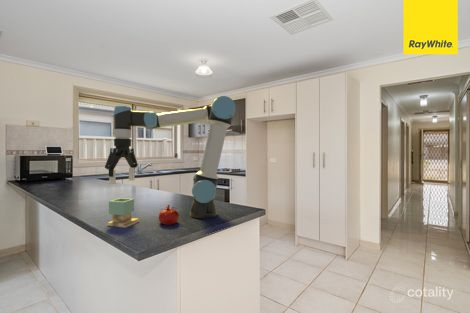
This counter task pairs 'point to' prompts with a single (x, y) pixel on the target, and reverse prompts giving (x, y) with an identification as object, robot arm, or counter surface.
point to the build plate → (133, 220)
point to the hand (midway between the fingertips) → (122, 182)
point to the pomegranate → (168, 216)
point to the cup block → (121, 206)
